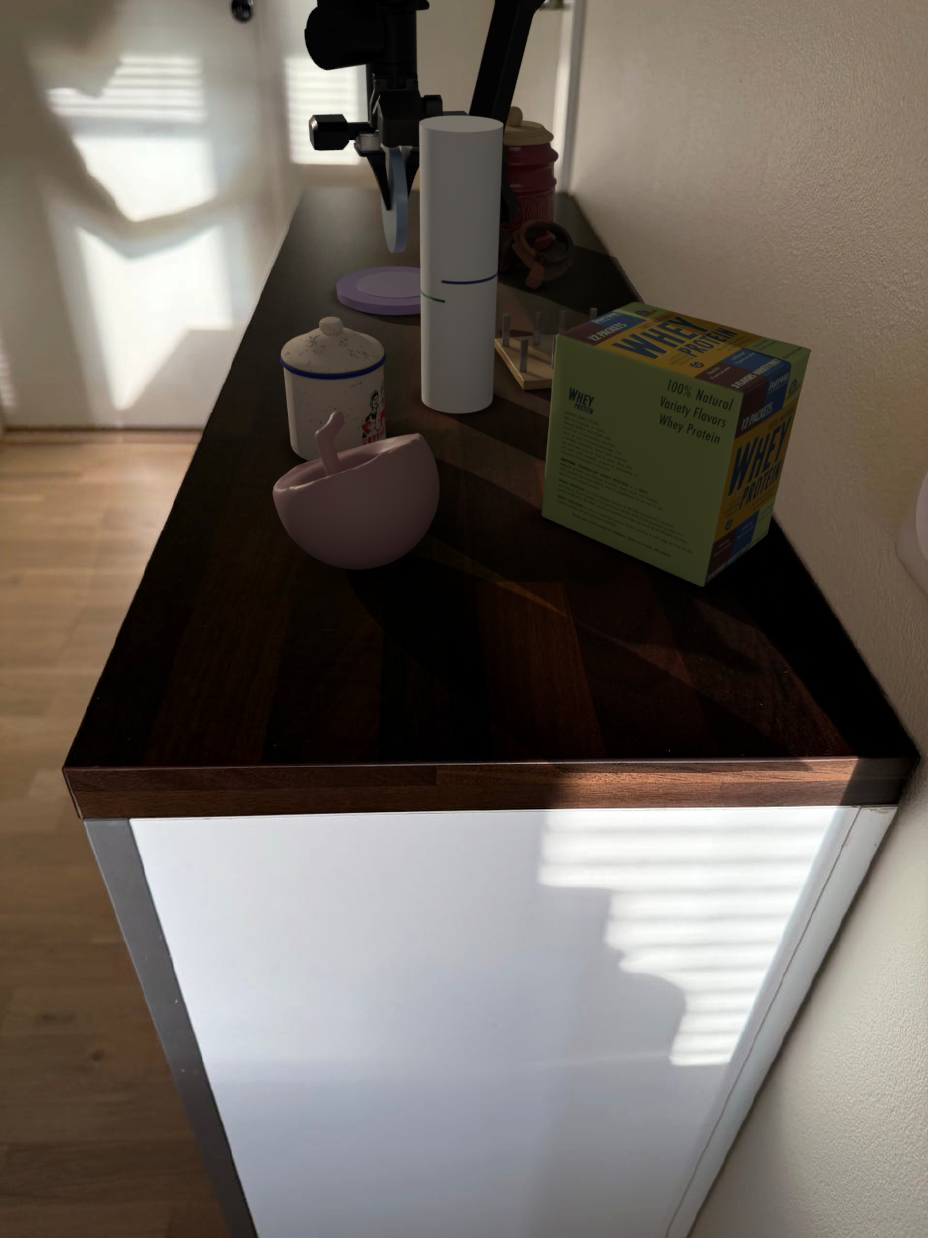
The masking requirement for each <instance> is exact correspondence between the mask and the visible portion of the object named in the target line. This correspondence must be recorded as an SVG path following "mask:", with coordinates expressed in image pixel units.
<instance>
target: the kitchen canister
mask: <svg viewBox="0 0 928 1238" xmlns="http://www.w3.org/2000/svg"><path fill="white" fill-rule="evenodd" d="M523 119H524V114H523V111H522V109H521V108H520V107H518V106H515V105H511V108H510V112H509V116H508V120H507V124H506V128H505V132H504V136H503V143H504V147H505V151H506V155H507V159H508V163H509V166H508V173H507V179H506V181H507V183H508V184H509V186H510V187H511V189H512V191H513V192H514V194H515V195H516V197H517V198H518V200H519V205H518V209H517V213H516V217H515V218H513V219H511V222H509V223H501V230H503V231H505V232H508V233H512V232H514V231H516V230H517V229H519V228H521V226H522V225H523V224H524V223H525V222H527V221H529V220H532V219H544V220H548V221H550V222H554V216H555V215H554V212H555V199H556V186H557V184H558V180H557V178H556V176H555V163H556V162H557V161H558V159H559V158H560V157H559V156H560V154H559V152H558V151H557V150H556V149H554V148H553V147H552V145H551V142H552V141H553V140H554V138H555V136H554V133H552V132H551V131H549V130H548V129H546V127H545V126H544V125H543V124H542V123H539V122H537V121H531V120H525V119H524V120H523ZM553 236H554V234H553V233H551V232H550V231H548V230H547V233H546V234H545V235H544V236H542V237H537V239H536V241H535V242H534V244H533V247H532V248H534V249H536V250H537V251H541V250H544V249H546V248H548V247H549V246H550V245H551V244H552V238H553ZM500 251H501V250H500Z"/></svg>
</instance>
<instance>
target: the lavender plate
mask: <svg viewBox="0 0 928 1238" xmlns="http://www.w3.org/2000/svg"><path fill="white" fill-rule="evenodd" d="M335 290H336V291H335V292H336V298H337V300H338V301H339V302H340V303H341V304H342V305H344V306H345V307H346V308H347V307H348V308H349V309H352V310H354V311H358V312H363V313H367V314H372V315H373V314H374V315H381V316H411V315H421V267H414V266H403V265H402V266H400V265H399V266H398V265H397V266H378V267H370V268H365V269H360V270H357V271H353V272H351V273H348V274H346V275H344V276H343V277H341V278H340V279H338V281H337V282H336V285H335Z"/></svg>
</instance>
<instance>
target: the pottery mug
mask: <svg viewBox="0 0 928 1238" xmlns="http://www.w3.org/2000/svg"><path fill="white" fill-rule="evenodd" d="M547 230H548V231H550V232H551V233H553V236H554V237H555V238H554V239H555V241H557V242H558V243H559V242H560V243H562V244H564V246H565V252H564V253H562V254H561V255H557V256H548V255H546V254H545V253H544V252H542V251H540V250H538V251H537V250H536V249H534V248H532V247H533V244H534V242H535V241H536V239H537V237H542V236H544V235H545V234H546V233H547ZM499 247H500V250H501V251H498V270H497V271H499V273H502V272H505V273H506V272H507V271H508V270H509V269H510V268H512V267H514V266H517V265H525V266H526V267H527V268H529V269H530V270H529V273H528V276H527V277H526V279H525V282H524V283H525V286H527V287H528V288H531V289H532V290H537V288H538V287H540V286H541V285H542V282H543V283H547V282H550V281H552V280H555V279H557V278H559V277H561V276H563V275H564V274H566V273H567V272H568V269H570V268H571V267H572V264H573V259H574V255H573V251H574V240H573V239H572V237H571V235H570V233H569V232H568V231H567V229H565V228H564V227H562V225H560V224H558V223H556V222H555V221H553V222H550V221H548V220H544V219H532V220H529V221H527V222H525V223H524V224H523V225H522V226H521V228H519V229H517V230H516V231H514V232H512V233H508V232H505V231H503V230H501V229H499Z"/></svg>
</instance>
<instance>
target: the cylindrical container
mask: <svg viewBox="0 0 928 1238" xmlns="http://www.w3.org/2000/svg"><path fill="white" fill-rule="evenodd" d="M419 138H420V166H419V246H420V247H419V248H420V249H419V254H420V255H419V259H420V260H419V262H420V268H421V314H420V341H421V342H420V355H421V356H420V358H421V359H420V361H421V363H420V364H421V365H420V369H421V372H420V373H421V375H420V378H421V379H420V380H421V381H420V382H421V383H420V384H421V401H422V404H424V405H425V406H426V407H428V408H430V409H432V410H435V411H438V412H442V413H446V414H470V413H475V412H478V411H482V410H484V409H486V408H488V407H489V406H490V405H491V404H492V402H493V398H494V378H495V377H494V375H495V374H494V373H495V350H496V348H495V338H496V324H497V323H496V322H497V295H498V294H497V293H498V271H499V270H498V247H499V220H500V194H501V168H502V143H503V123H502V122H500V121H497V120H494V119H490V118H484V117H476V116H439V117H432V118H427V119H424V120H422V121H420V122H419Z"/></svg>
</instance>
